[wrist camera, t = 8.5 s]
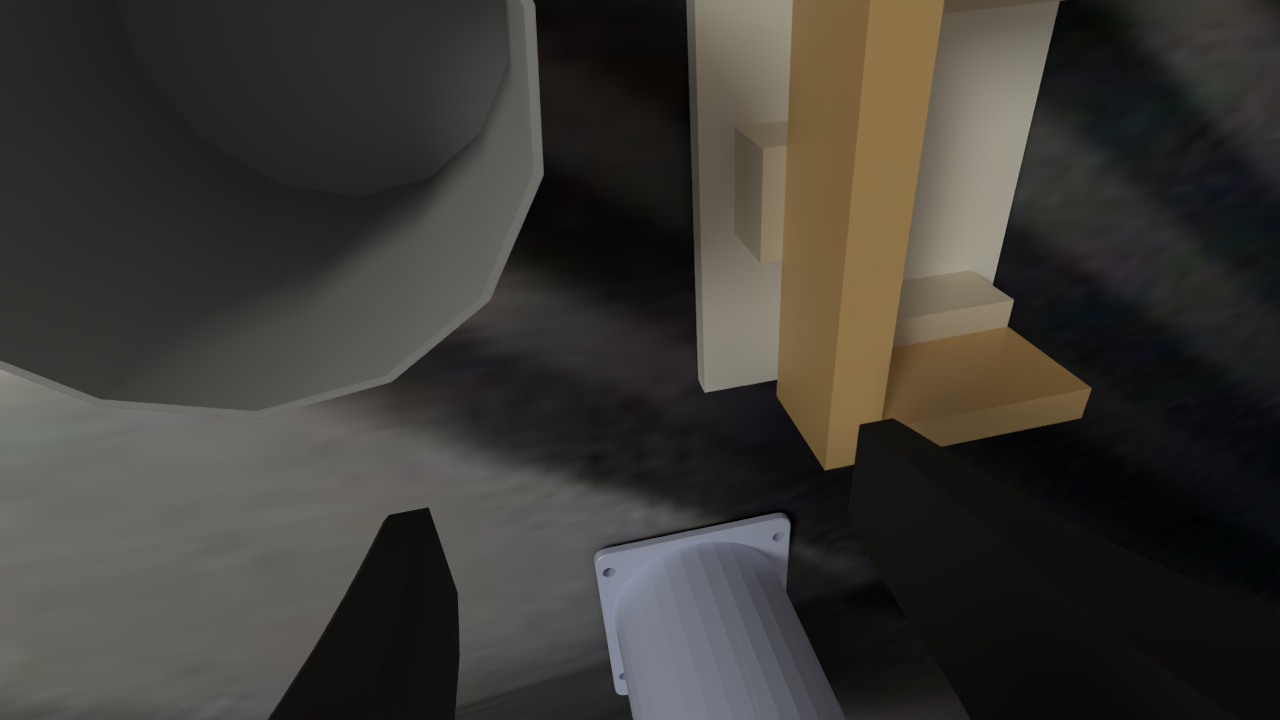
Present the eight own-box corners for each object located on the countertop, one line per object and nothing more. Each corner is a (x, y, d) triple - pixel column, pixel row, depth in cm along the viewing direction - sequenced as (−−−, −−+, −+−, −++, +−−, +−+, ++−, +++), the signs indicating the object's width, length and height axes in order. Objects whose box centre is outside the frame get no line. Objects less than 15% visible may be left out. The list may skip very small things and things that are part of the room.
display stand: (1072, -153, 17) (1175, -168, 14) (965, 332, 24) (1020, 377, 22) (682, -121, 15) (721, -133, 13) (698, 379, 23) (725, 432, 20)
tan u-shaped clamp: (1119, -112, 15) (1273, -124, 12) (1000, 353, 21) (1081, 418, 18) (795, -81, 14) (879, -87, 11) (776, 395, 20) (824, 470, 17)
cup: (540, -141, 15) (618, -246, 6) (489, 215, 19) (497, 435, 10) (81, -292, 12) (-760, -781, 4) (133, 154, 16) (-233, 382, 8)
